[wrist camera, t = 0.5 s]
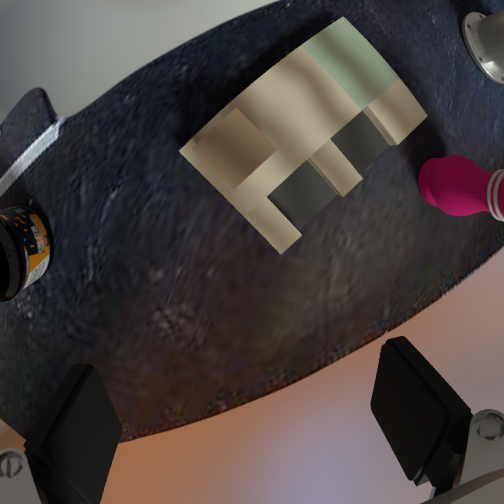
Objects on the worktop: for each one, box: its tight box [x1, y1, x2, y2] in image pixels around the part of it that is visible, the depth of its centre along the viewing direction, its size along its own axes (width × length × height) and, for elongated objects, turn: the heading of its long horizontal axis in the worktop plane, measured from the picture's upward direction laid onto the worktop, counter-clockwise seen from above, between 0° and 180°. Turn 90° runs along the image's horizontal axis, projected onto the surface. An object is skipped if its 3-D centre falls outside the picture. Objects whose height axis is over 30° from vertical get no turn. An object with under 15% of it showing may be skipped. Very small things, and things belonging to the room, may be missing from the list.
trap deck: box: [179, 17, 427, 254], centre depth 30 cm, size 24×15×2 cm, turn 134°
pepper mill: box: [418, 155, 504, 222], centre depth 23 cm, size 7×7×20 cm
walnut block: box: [193, 108, 278, 190], centre depth 26 cm, size 5×5×5 cm
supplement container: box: [0, 204, 54, 302], centre depth 27 cm, size 10×10×12 cm
